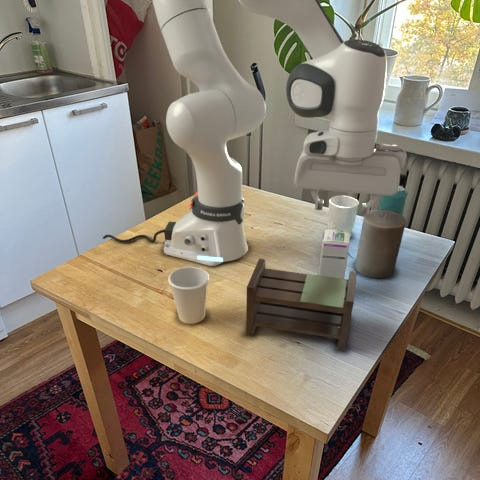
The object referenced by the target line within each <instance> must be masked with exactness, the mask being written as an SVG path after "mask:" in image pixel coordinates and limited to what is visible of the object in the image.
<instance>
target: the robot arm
mask: <svg viewBox="0 0 480 480" xmlns="http://www.w3.org/2000/svg"><path fill="white" fill-rule="evenodd" d="M237 1H238V3H239V4H240V5H241V6H242V7H243V8H244V9H246V10H247V11H249V12H251V13H254V14H257V15H262V16H265V17H268V18H272V19H273V20H276V21H279V22H281V23H283V24H285V25H286V26H288V27H289V28H291V30H293V31H294V32H295V33H296V35H297V36H298V37H299V39H300V41H301V42H302V44H303V45H304V47H305V49H306V51H307V52H308V53H309V55H310V57H311V58H312V59H309V60H306V61H304V62H301V63H299V64H297V65H296V66H294V68H293V69H291V72H290V74H289V75H288V78H287V81H286V87H285V92H286V100H287V102H288V105H289V107H290V108H291V110H292V112H294V113H295V115H297V116H298V117H301V118H308V119H315V118H322V117H324V118H328V120H329V126H328V128H326V129H322V130H318V131H314V132H311V133H308V135H307V136H306V137H305V138H304V141H303V150H302V152H301V154H300V156H299V158H298V161H297V163H296V168H295V172H294V181H293V183H294V185H295V186H296V188H297V189H305V190H310V194H311V197H312V199H313V201H314V204H315V205H314V210H315V211H323V208H324V199H322V198H320V197H319V195H318V194H319V192H320V191H328V192H336V193H337V192H339V193H350V194H361V195H369V200H368V202H366V203H362V205H361V206H362V208H361V213H360V214H361V215H363V216H364V215H369V211H371V210H370V209H371V208H372V207H373V205H374V204H375V203H376V202H377V201H378V197H379V196H381V195H383V196H394V195H395V194H396V193H397V192H398V189H399V182H400V173H401V170H402V169H403V168H405V165H406V162H407V157H408V155H407V151H406V149H404V148H403V147H401V146H400V145H398V144H392V145H391V144H385V143H376V142H377V137H378V130H379V125H380V124H379V111H380V108H381V106H382V104H383V101H384V96H385V89H386V81H387V69H388V59H387V54H386V51H385V49H384V48H383V47H382V46H381V45H379V44H377V43H375V42H373V41H370V40H367V39H364V40H363V39H355V38H354V39H348V40H347V39H346V40H345V41H344V40H343V38H342V37H341V35H340V33H339V32H338V30H337V29H336V27H335V25H334V24H333V22H332V21H331V19H330V17H329V15H328V14H327V13H326V11H325V10H324V8H323V6H322V4H321V3H320V1H319V0H237ZM152 4H153V9H154V13H155V17H156V20H157V23H158V27H159V29H160V32H161V35H162V37H163V40H164V43H165V46H166V48H167V51H168V53H169V54H168V55H169V57H170V59H171V62H172V65H173V67H174V70H175V71H176V72H177V73H178V74H180V75H181V76H182V77H184V78H186V79H188V80H190V81H191V82H192V83H193V84H194V85H195V86H196V87H197V88H198V90H199V91H197V92H191V93H188V94H186V95H184V96H181V97H180V98H178V99H176V100H175V101H173V102H171V103H170V105H169V106H168V107H167V111H166V116H165V125H166V129H167V133H168V135H169V137H170V139H171V140H172V142H173V143H174V144H175V145H177V147H179V148H180V149H182V150H184V151H185V152H186V154H187V155H188V156H189V158H190V160H191V162H192V164H193V167H194V170H195V178H196V187H197V188H196V189H197V191H196V192H195V194H194V195H193V198H192V199H191V201H190V203H189V205H188V207H189V210H190V211H188V212H186V214H184V215H182V216H181V217H180V218H179V219H177V221H168V222H167V224H166V226H165V228H164V229H161V230H158V231H156V232H155V233H154V234H153V239H151V238H150V237H149V236H148V235H146V234H137V235H135V236H133V237H131V238H128V239H120V238H117V237H116V236H114V235H112V234H105V235H104V236H103V237H102V240H105V239H107V238H110V239H112V240H114V241H115V242H119V243H130V242H133V241H135V240H137V239H140V238H144V239H146V240H147V241H148V242H150V243H155V242H156V241H157V236H158V235H160V234H163V233H164V240H165V242H164V245H163V252H164V255H167V256H169V257H170V256H171V257H175V258H178V259H182V260H185V261H188V262H189V261H190V262H194V263H197V264H202V265H205V266H210V267H216V266H218V265H220V264H222V263H226V262H232V261H235V260H238V259H240V258H242V257H244V256H245V255H246V254H247V252H248V251H249V245H248V243H247V238H246V234H245V227H244V219H245V199H244V196H243V169H242V166H241V165H240V163H239V162H238V161H237V160H236V159H234V158H233V157H230V156H229V153H228V149H227V143H228V141H230V140H231V141H232V140H234V139H238V138H240V137H244V136H247V135H249V134H250V133H252V132H254V131H255V130H256V129H258V128H259V127H261V125H262V124H263V122H264V120H265V118H266V109H267V108H266V102H265V99H264V96H263V94H262V93H261V91H260V90H259V89H258V88H257V87H255V86H254V85H252V84H250V83H249V82H248V81H247V80H245V78H243V76H242V75H241V74H240V73H239V72H238V71H237V69H236V68H235V67H234V64H233V63H232V62H231V60H230V59H229V58H228V55H227V53H226V52H225V50H224V47H223V45H222V43H221V40H220V37H219V34H218V32H217V29H216V25H215V23H214V20H213V17H212V15H211V10H210V8H209V5H208V2H207V0H152Z"/></svg>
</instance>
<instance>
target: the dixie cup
mask: <svg viewBox="0 0 480 480" xmlns="http://www.w3.org/2000/svg"><path fill="white" fill-rule="evenodd" d="M167 281H168V283H169V285H170V289H171V293H172V296H173V300H174V304H175V307H176V311H177V315H178V319H179V320H180V322H182V323H185V324H190V325H192V324H193V325H194V324H198V323H200V322H202V321H203V320H204V319H205V317H206V307H207V296H208V286H209V285H208V284H209V281H210V275H209V273H208V271H206V270H205V269H203V268H201V267H197V266H182V267H180V268H177V269H174V270H173V271H172V272H171V273H170V274H169V275H168V278H167Z"/></svg>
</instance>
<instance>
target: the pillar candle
mask: <svg viewBox="0 0 480 480" xmlns="http://www.w3.org/2000/svg"><path fill="white" fill-rule="evenodd" d="M406 223H407V220H406V218H405V216H403V214H402V215H401V214H399V213H396V212H393V211H387V210H378V209H374V210H370V211H369V215H364V214H363V220H362V224H361V225H362V226H361V231H360V237H359V241H358V247H357V252H356V258H355V264H354V266H355V271H357V273H359V274H360V275H362V276H364V277H366V278H367V277H368V278H371V279H386V278H389V277H391V276H392V275H394V273H395V267H396V264H397V260H398V256H399V252H400V248H401V244H402V240H403V236H404V232H405V228H406Z"/></svg>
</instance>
